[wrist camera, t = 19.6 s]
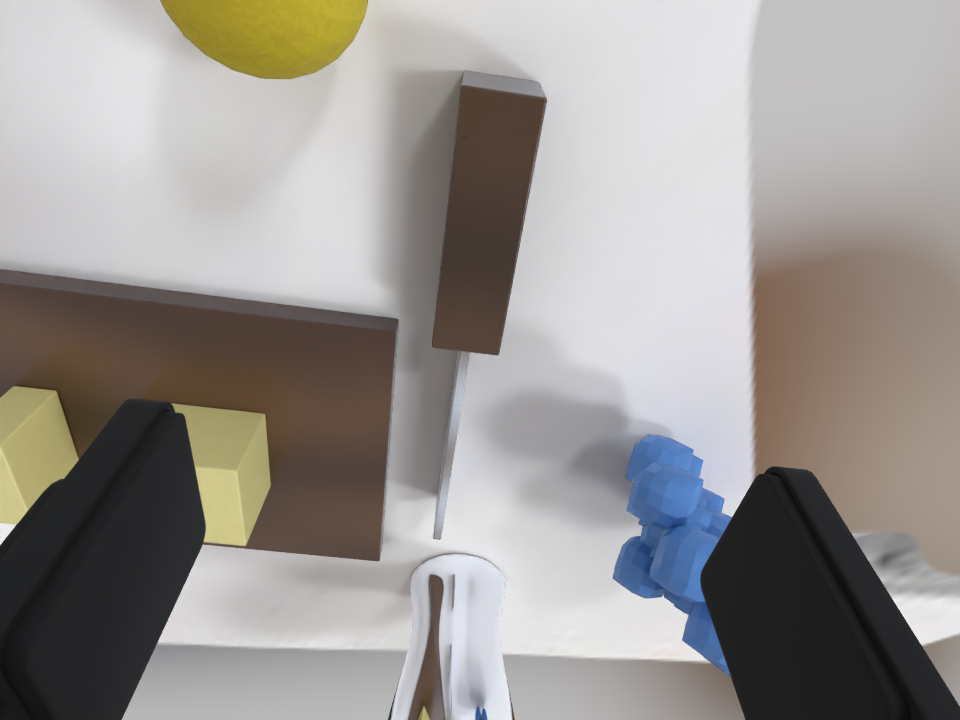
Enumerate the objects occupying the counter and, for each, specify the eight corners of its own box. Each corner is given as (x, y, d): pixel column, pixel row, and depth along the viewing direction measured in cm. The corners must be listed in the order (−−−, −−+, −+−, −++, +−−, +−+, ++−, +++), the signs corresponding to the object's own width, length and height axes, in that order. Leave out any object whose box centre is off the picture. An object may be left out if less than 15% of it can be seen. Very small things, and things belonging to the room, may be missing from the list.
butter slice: (13, 384, 28) (-51, 441, 25) (57, 389, 28) (-1, 446, 25) (42, 462, 31) (-13, 522, 27) (81, 466, 31) (32, 526, 27)
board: (-61, 261, 26) (-83, 273, 25) (399, 318, 27) (396, 332, 26) (39, 511, 34) (26, 528, 34) (382, 545, 36) (379, 561, 35)
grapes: (542, 417, 30) (570, 639, 20) (666, 358, 28) (765, 574, 18) (636, 544, 36) (693, 769, 26) (745, 503, 34) (855, 730, 24)
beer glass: (433, 534, 35) (405, 844, 23) (532, 570, 37) (556, 876, 25) (386, 595, 39) (338, 895, 26) (479, 626, 41) (476, 920, 28)
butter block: (138, 398, 28) (92, 456, 25) (265, 413, 29) (236, 471, 25) (155, 473, 31) (115, 534, 28) (271, 485, 31) (246, 546, 28)
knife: (463, 69, 21) (461, 84, 19) (540, 81, 22) (547, 98, 19) (415, 494, 33) (409, 540, 31) (464, 499, 34) (463, 545, 31)
